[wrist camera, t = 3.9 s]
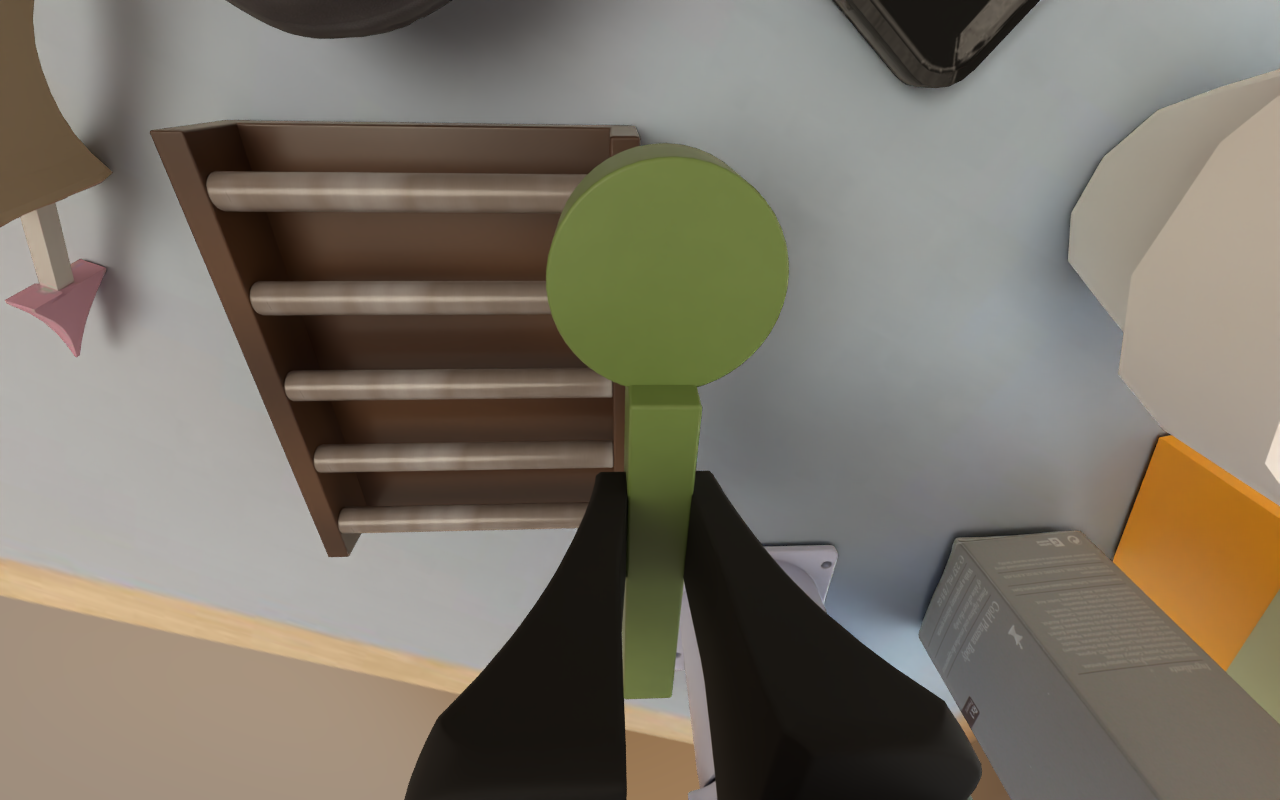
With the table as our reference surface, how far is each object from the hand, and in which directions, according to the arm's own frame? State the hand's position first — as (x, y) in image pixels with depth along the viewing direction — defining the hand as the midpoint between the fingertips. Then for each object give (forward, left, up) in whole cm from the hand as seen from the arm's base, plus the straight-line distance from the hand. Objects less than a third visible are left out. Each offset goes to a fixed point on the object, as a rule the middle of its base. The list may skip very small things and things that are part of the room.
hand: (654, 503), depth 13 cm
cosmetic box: (-14, -19, -8) cm, 25 cm away
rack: (0, +6, -8) cm, 10 cm away
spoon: (+1, 0, -1) cm, 2 cm away
